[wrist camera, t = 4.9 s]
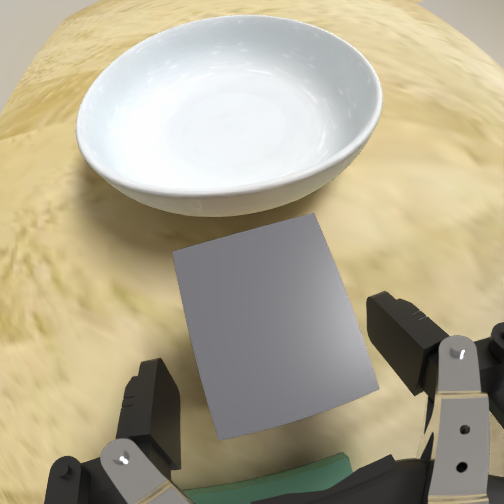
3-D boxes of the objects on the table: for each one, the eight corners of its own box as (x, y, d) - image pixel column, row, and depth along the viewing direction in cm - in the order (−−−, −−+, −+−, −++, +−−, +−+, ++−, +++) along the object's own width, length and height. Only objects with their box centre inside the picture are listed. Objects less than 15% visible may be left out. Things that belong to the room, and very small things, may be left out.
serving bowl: (78, 152, 24) (45, 101, 17) (241, 52, 29) (237, 2, 22) (218, 323, 17) (190, 290, 11) (404, 143, 22) (430, 83, 16)
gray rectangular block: (222, 319, 17) (171, 248, 8) (288, 300, 17) (312, 210, 8) (245, 403, 15) (218, 440, 6) (314, 382, 15) (379, 388, 6)
